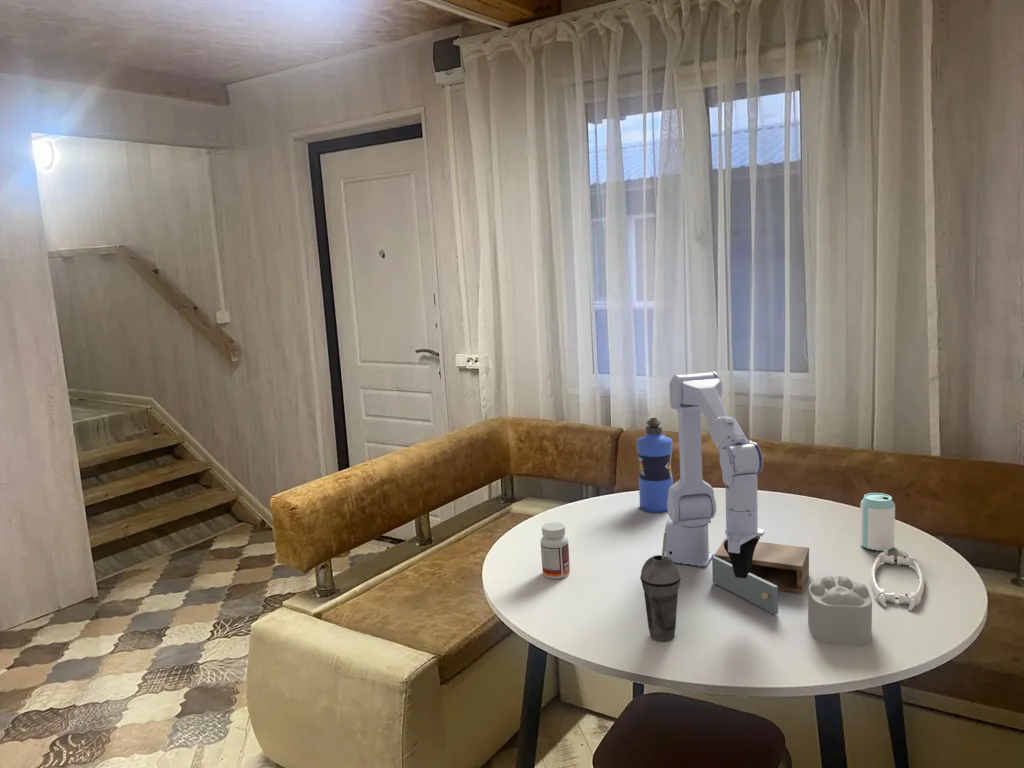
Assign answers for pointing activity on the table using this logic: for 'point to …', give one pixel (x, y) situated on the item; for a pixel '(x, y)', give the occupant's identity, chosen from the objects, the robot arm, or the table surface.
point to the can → (877, 522)
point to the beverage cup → (661, 595)
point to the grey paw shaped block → (839, 611)
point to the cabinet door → (746, 586)
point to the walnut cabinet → (777, 565)
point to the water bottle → (654, 468)
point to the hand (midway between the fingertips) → (742, 574)
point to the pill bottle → (554, 551)
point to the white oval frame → (911, 600)
